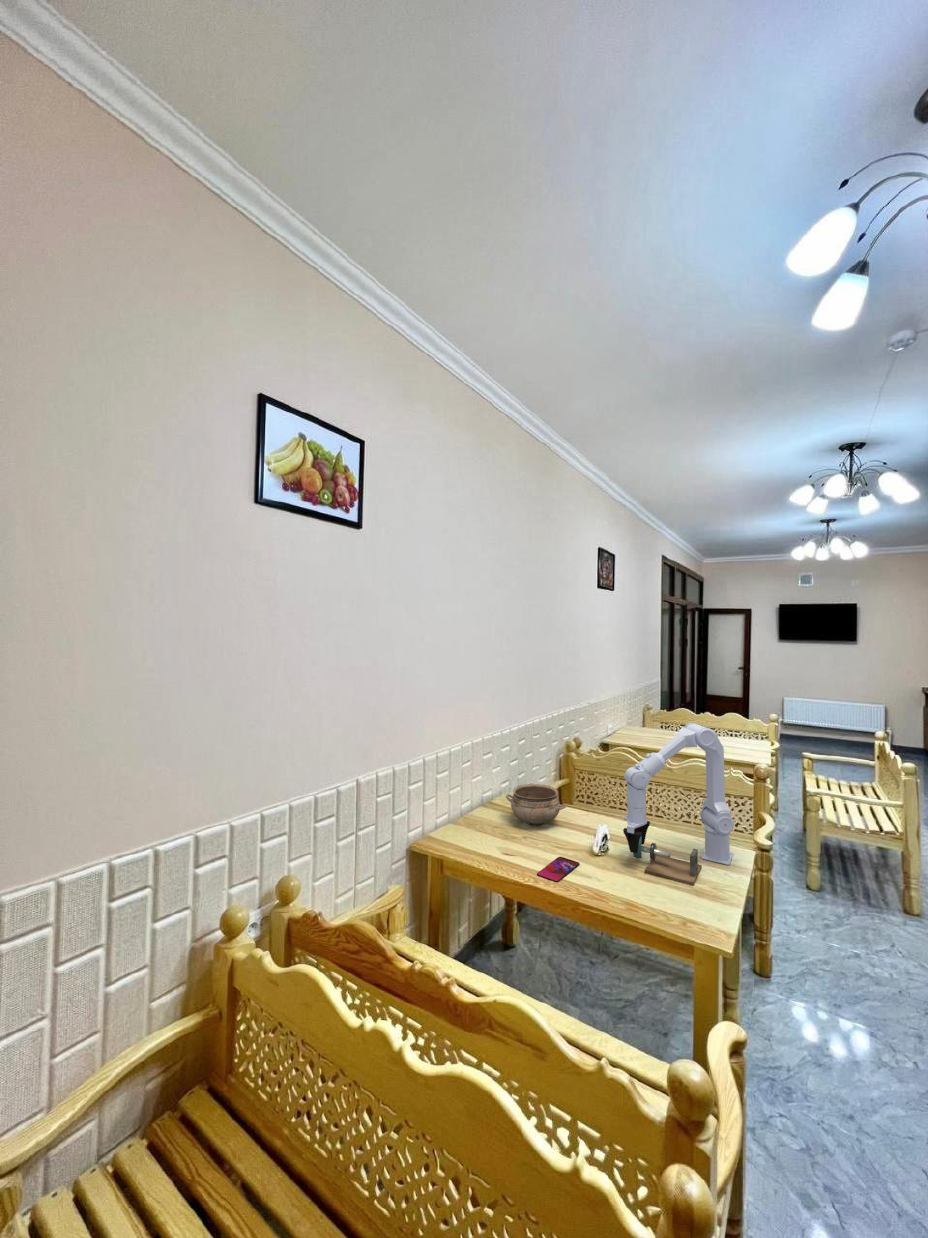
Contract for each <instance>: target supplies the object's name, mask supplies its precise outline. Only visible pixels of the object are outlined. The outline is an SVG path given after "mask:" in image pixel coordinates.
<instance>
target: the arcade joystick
mask: <svg viewBox="0 0 928 1238" xmlns="http://www.w3.org/2000/svg"><path fill="white" fill-rule="evenodd" d="M642 853H647V854H649V858H650V861H651V860H655V858H656V855H659V856H663V857H667V858H671V852H669V851H664V850H660V849H657V843H655V842H652V843H651V844H650V847H647V846H644V845H643V844H642V843H641V837H640V840H639V847H638V852H637V853H633V852H632V857H633V858H634V859H637V860H639V859H642V857H643V856H642V855H643V854H642Z"/></svg>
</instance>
